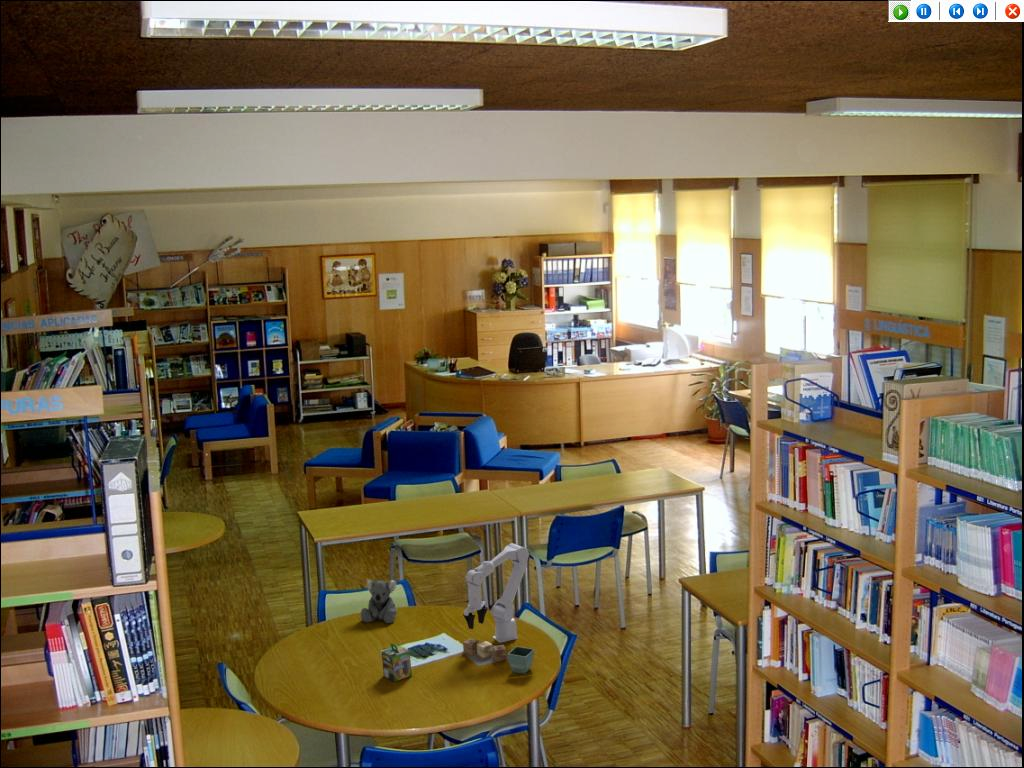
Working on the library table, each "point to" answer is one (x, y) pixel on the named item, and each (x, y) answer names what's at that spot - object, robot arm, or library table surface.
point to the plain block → (484, 649)
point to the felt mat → (481, 659)
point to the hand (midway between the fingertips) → (476, 625)
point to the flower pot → (521, 659)
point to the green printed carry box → (396, 663)
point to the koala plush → (380, 602)
